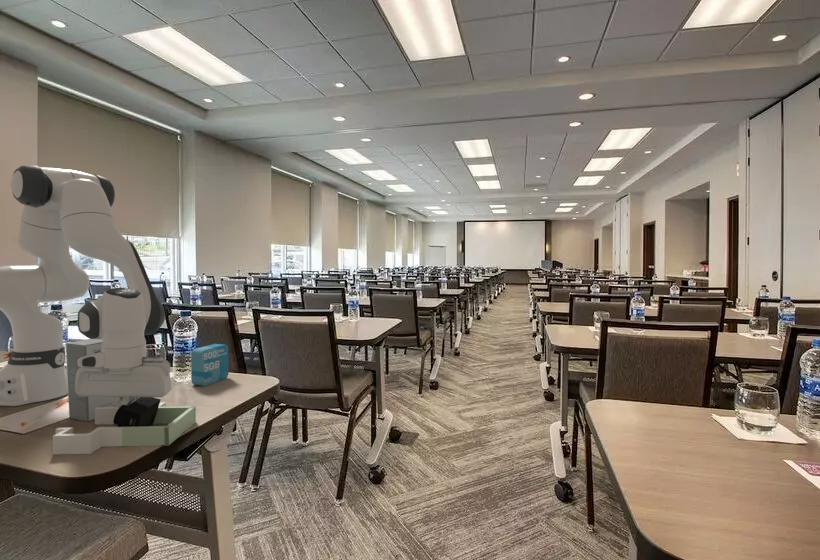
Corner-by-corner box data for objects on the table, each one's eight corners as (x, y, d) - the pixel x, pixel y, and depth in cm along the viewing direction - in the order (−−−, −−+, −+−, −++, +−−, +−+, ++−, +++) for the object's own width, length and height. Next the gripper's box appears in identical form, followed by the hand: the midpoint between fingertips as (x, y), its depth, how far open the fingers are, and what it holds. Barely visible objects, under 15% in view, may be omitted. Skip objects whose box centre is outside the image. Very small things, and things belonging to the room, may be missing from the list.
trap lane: (43, 454, 90) (42, 436, 90) (106, 417, 111) (106, 402, 111) (161, 452, 92) (160, 434, 92) (201, 416, 113) (201, 401, 113)
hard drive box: (125, 400, 125) (124, 332, 124) (144, 403, 122) (143, 334, 121) (67, 418, 111) (65, 342, 110) (86, 422, 108) (84, 344, 107)
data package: (201, 387, 138) (201, 350, 138) (191, 385, 140) (190, 349, 139) (228, 377, 150) (228, 343, 149) (218, 376, 151) (218, 342, 150)
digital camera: (130, 420, 106) (138, 393, 106) (153, 425, 107) (161, 398, 107) (107, 437, 96) (116, 408, 96) (132, 443, 97) (141, 413, 97)
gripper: (176, 354, 105) (176, 409, 106) (88, 353, 103) (89, 408, 104) (163, 361, 99) (163, 419, 100) (69, 359, 97) (70, 418, 98)
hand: (124, 414), depth 102 cm, fingers closed, pressing on digital camera
